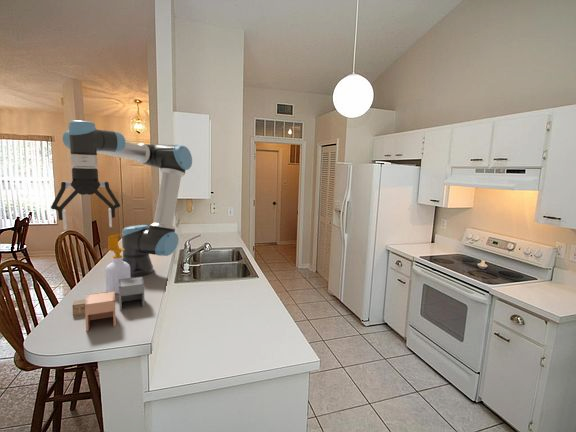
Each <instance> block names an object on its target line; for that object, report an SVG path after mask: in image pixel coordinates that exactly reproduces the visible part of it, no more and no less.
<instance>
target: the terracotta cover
mask: <svg viewBox="0 0 576 432" xmlns="http://www.w3.org/2000/svg"><path fill="white" fill-rule="evenodd" d="M85 299H86V301H85V314H84V315H85V316H84V317H85V332H89V331H90V329H89V328H90V322H91V321H93V320H99V319H107V318H112V319H113V320H112V321H113V327H116V326H117V323H116V322H117V321H116V317H117V316H116V294H115V291H112V292H107V291H106V292H99V293H89V294H86V297H85Z"/></svg>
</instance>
